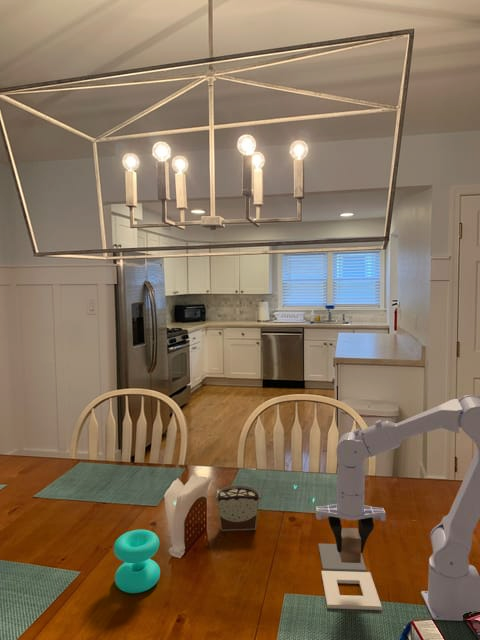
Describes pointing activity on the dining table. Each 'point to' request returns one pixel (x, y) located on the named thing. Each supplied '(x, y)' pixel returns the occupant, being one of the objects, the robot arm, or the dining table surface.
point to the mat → (337, 559)
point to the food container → (238, 507)
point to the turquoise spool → (137, 561)
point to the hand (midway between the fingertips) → (349, 549)
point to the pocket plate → (349, 601)
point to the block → (350, 546)
